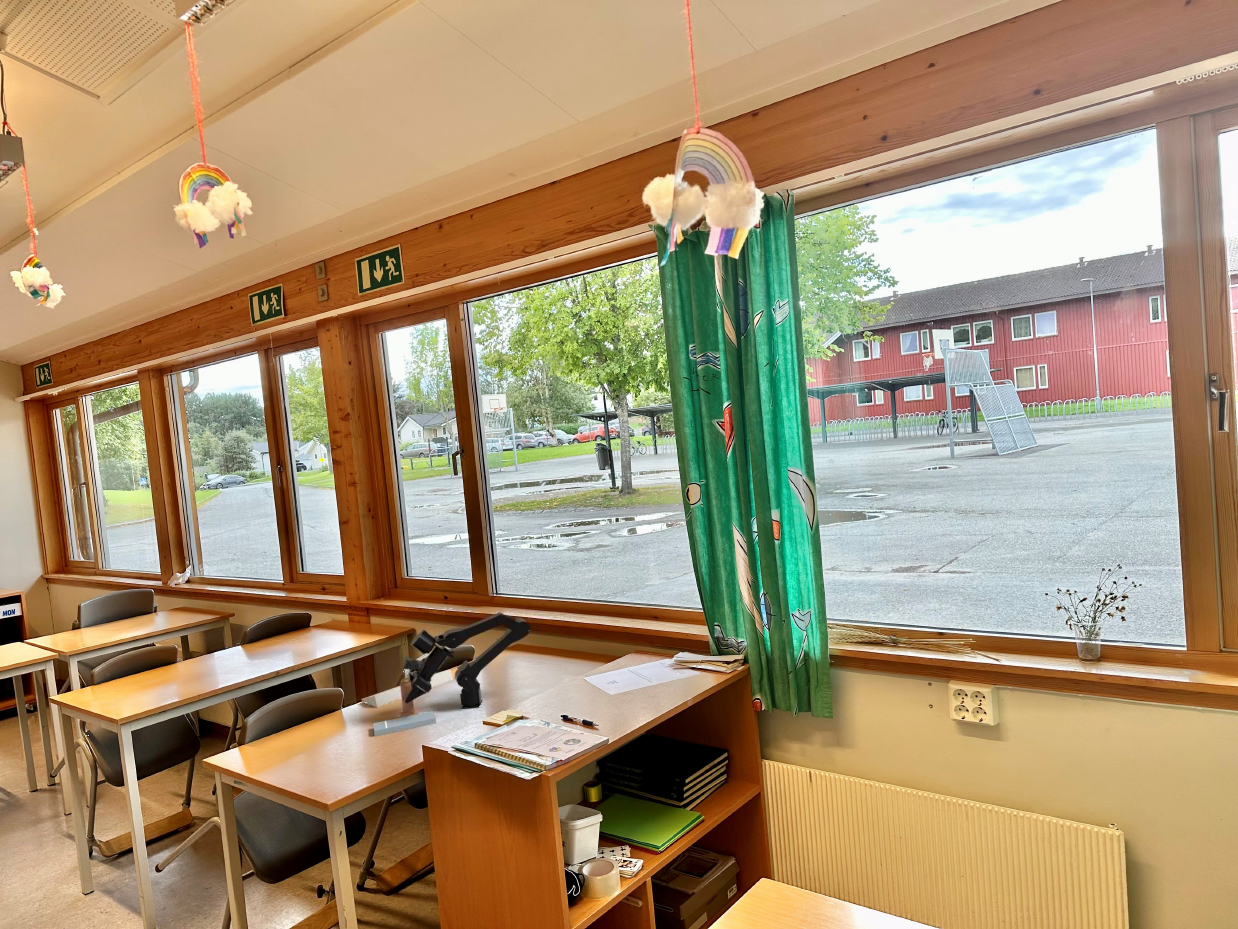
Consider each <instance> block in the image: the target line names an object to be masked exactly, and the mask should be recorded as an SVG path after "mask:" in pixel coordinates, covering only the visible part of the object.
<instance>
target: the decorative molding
mask: <svg viewBox="0 0 1238 929" xmlns="http://www.w3.org/2000/svg"><path fill="white" fill-rule="evenodd" d="M452 681H454V677H453V674H452V671H451V669H446V670H443V671H438V672H436V673H435V674H434V675H433V676H432V678H431V681H430V683H431V688H432V689H433V688H436V687H438V686H441V685H444V684H446V683H450V682H452ZM401 698H402V697H401V688H400V685H399V686H396V687H393V688H390V689H386V690H384V691H380V692H378V693H375V694H373V695H370V696H367V697H364V698H361V701H362V703H364V702H367V703H365V704H364V705H366V704H368V705H367V706H372V707H373V706H375V707H374V708H376V707H379V706H381V707H383V706H382V705H384V706H386V705H385V704H387V705H389V704H388V703H390V702H392V701H395V702H397V701H396V700H398V701H400V700H399V699H401ZM401 700H402V699H401ZM392 703H393V702H392ZM390 704H391V703H390ZM379 708H380V707H379Z"/></svg>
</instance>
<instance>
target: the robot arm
mask: <svg viewBox="0 0 1238 929" xmlns="http://www.w3.org/2000/svg"><path fill="white" fill-rule="evenodd" d="M499 626H503V627H504V628H507V629H506V630H505V632H504V634H503V635H502V636H500V637H499V638H498V639H496V641H494V643H492V644H491V645H490V646H489V647H488V648H487V649H485V650H484V651H483V652H482V653H481V654H480V655H478V656H477V657H476V658H475V659H474V660H472V661H468V660H464V661H463V662H462V663H461V665H459V666H457V667H456V668H457V669H456V671H455V672H454V680H455V682H456V683H457V685H458V686H459V687H461V693H460V694H459V696H460V697H459V698H460V705H461V709H462V710H463V709H465V710H466V709H473V708H480V707H481V706H480V705H482V704H481V703H483V702H484V700H483V699H482V693H481V692H482V690H481V683H480V682H479V680H478V679H477V678H478V677H479V675H480V673H481V672H482V670H484V668H486V667H487V666H488V665H489V664H490V663H492V661H494V660H495V659H496V658H498V656H500V654H502V653H503V652H504V651H505V650H507V648H509V647H510V646H511V645H513V644H514V643H517V642H519V641H521V640H522V639H524V638H526V637H527V636H528V635H529V634H530V633H531V625H530V623H528V622H527V621H526V620H525V619H523V618H520V617H519V618H514V617H512V616H509V615H507V614H504V613H503V612H496V613H495V614H493V615H491V616H488V617H486V618H484V619H481V620H478V621H476V622H474V623H471V624H469V625H467V626H462V627H455V628H451V629H447V630H445V631H444V633H442V634H439V635H436V636H433V635H432V634H430V633H429V632H428V631H427V630H426V629H424V628H423V629H422V630H421V631H420V632H419V633H418V634H416V635H415V637H414V638H413V640H412V641H411V643H410V646H412V647H413V648H414V649H416V650H417V651H418V652H419V653H421V654H423V655H425V654H427V657H423V658H422V659H421V660H419V659H416V658H412V657H409V656H406V657H405V659H404V661H403V664H402V667H403V669H405V670H409V671H408V675H409V677H408V678H409V680H410V681H411V687H412V689H411V691H410V693H409V694H408V696H407V698H406V700H405V703H409V702H411V701H412V700H413V701H414V700H416V699H418V698H420V697H422V696H423V695H426V694H429V692H431V690H432V689H433V688H431V683H430V681H431V678H432V676H433V675H434V674H435V673H439V672H440V670H439V669H440V668H441V666H442V665H443V664H444V662H445V661H446V660H447V658H448V657H449V658H450V659H452V660H454V659H455V656H454V653H455V651H454V649H457V648H458V647H460V646H461V645H463V644H464V643H466V642H467V641H469V639H471V638H473V637H476V636H478V635H480V634H483V633H485V632H487V631H489V630H492V629H495V628H497V627H499ZM482 701H483V702H482ZM479 706H480V707H479Z"/></svg>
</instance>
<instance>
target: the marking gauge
mask: <svg viewBox="0 0 1238 929" xmlns="http://www.w3.org/2000/svg"><path fill="white" fill-rule="evenodd" d="M409 679H410V678H409V677H408V678H407V677H406V678H401V680H399V686H400V688H401V697H402V699H401V705H402V712H399V718H402V717H406V716H411V715H416V714H419V712H418V708H416V709H415V707H414V700H412V701H411V702H409V703H405V700H406V698H407V696H408V694H409V693H410V691H411V689H412V687H411V681H410V680H409Z"/></svg>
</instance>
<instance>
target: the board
mask: <svg viewBox="0 0 1238 929" xmlns="http://www.w3.org/2000/svg"><path fill="white" fill-rule="evenodd" d="M435 724H437V718H436V715H435V713H434V710H431V711H427V712H426V711H425V712H422V713H418V714H416V715H411V716H406V717H402V718H400V717H397V718H393V719H392V718H391V719H388V720H383V721H379V722H375V723H372V725H373V732H374V737H377V736H378V737H379V736H381V735H387V734H392V733H397V732H401V731H406V730H410V729H416V728H419V727H420V728H421V727H425V726H429V725H435Z"/></svg>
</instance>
